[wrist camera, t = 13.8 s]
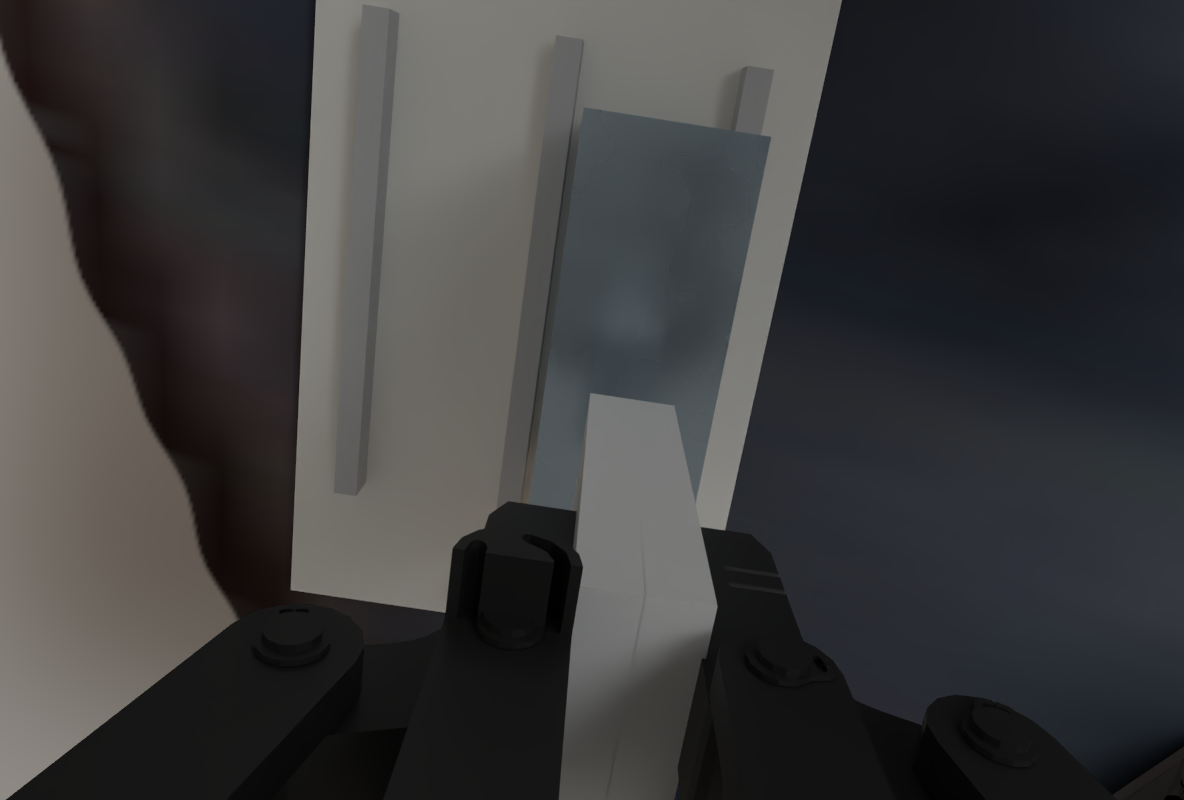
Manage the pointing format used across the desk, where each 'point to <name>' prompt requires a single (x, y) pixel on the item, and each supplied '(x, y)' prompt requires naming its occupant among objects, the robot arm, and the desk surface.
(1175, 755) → the electrical switch
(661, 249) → the panel
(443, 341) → the rack
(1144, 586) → the desk surface
